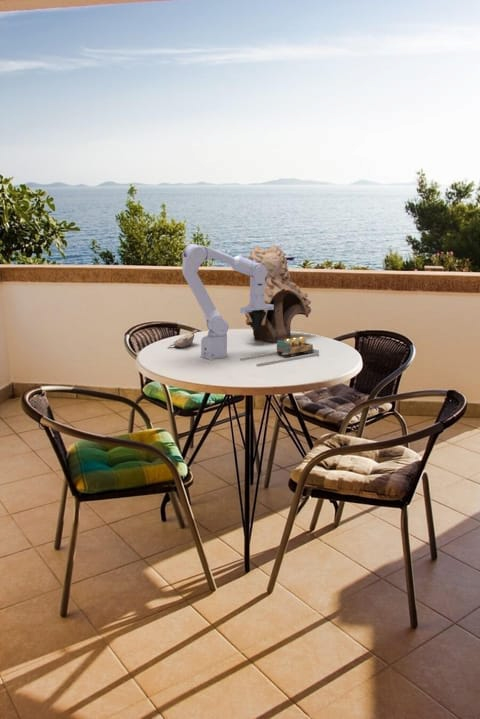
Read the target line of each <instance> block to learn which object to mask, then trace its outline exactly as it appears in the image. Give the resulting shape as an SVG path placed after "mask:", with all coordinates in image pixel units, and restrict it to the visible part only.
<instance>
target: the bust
mask: <svg viewBox="0 0 480 719" xmlns="http://www.w3.org/2000/svg"><path fill="white" fill-rule="evenodd" d="M285 256H286V253H285V252H284V251H282V249H281V248H280V247H279V246H277V245H276V244H272V245H270V246H269V248H268V249H265V248H263V247H261V246H258V245H256V246H255V247H253V250H251V251H250V253H249V256H247V257H248V258H247V259H250V260H252V261H253V260H255V261H256V262H257V263H260V264H263V265H264V266H265V267H266V269H267V271H268V274H267V276H266V277H265V305H267V304H272V305H274V310H264V311H265V312H266V315H265V317H264V319H263V321H262V324H261V327H260V330H254V326H253V323H252V320H251V317H250V315H249V314H248V312H247V313H244V316H245V317H246V319H245V324H246V325H247V326H250V328H252V331H253V332H252V334H253V339H254V340H255V341H260V342H266V343H271V344H277V340H281V341H284V339H285V338H292V336H291V335H292V333H291V332H292V331H291V323H292V321H293V318H294V317H295V316H297V315H302V316H305V317H306V318H309V315H310V313H311V312H312V308H311V307H310V306H309V305H311V303H312V301H311V300H309V299H308V297H309V296H308V293H307V292H304V291H302V290H301V288H300V286H297V284H296V283H295V282H293V281H292V279H291V278H292V277H291V274H290V271H289V269H288V265H287V263H288V260H287V257H285ZM247 306H250V303H249V304H248V305H247Z"/></svg>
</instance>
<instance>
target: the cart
mask: <svg viewBox="0 0 480 719" xmlns="http://www.w3.org/2000/svg"><path fill="white" fill-rule="evenodd" d="M313 345H314V344H312V343H307V342H306V346H300V347H294V348H290V343H288V342H284V341H281V340H277V343H276V352H277V355H279V356H281V355H283V354H288V355H290V356H289V358H291V357H297V356H296V354H297V353H301V352H302V353H304V352H303V351H308V352H307V353H306V355H308V354H312V351H310V350H313ZM282 352H284V353H283V354H282Z"/></svg>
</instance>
